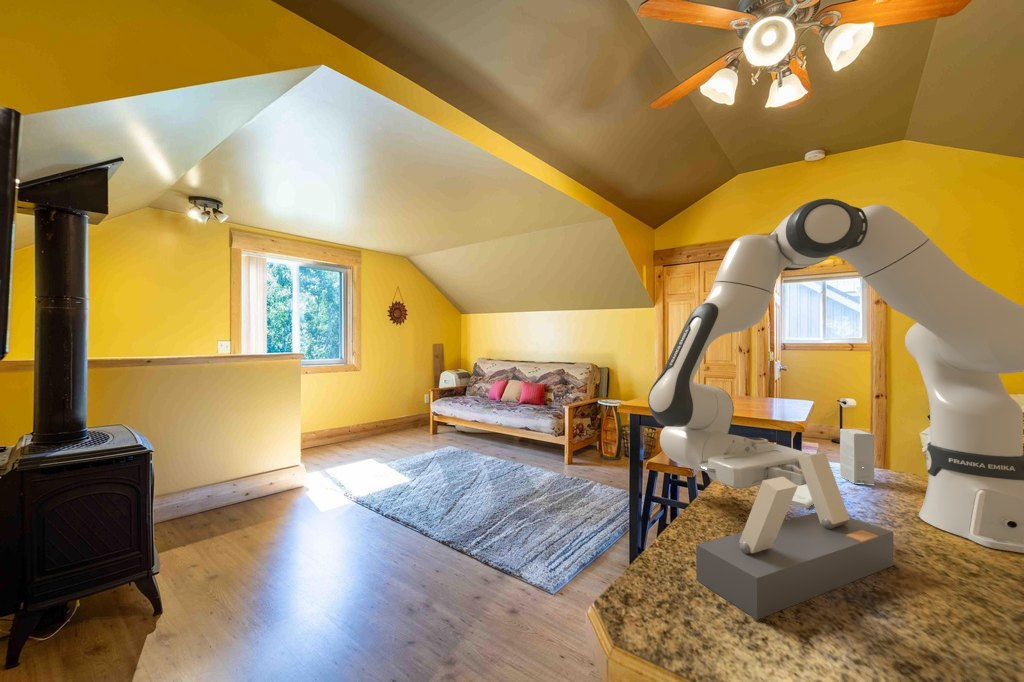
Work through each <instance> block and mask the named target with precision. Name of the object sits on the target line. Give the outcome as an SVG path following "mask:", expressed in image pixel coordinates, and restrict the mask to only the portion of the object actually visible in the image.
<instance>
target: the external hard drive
mask: <svg viewBox="0 0 1024 682" xmlns="http://www.w3.org/2000/svg"><path fill="white" fill-rule="evenodd" d="M797 486H798V485H797ZM813 504H814V503H813V500H812V498H811V495H810V492H809V489H808V486H807V485H806V484H805V485H801V486H798V487H797V489H796V492H795V494H794V497H793V499H792V501H791V504H790V506H794V507H797V508H802V509H804V508H805V509H804V510H808V509H809V508H811V507H812V506H814V505H813ZM811 505H812V506H811ZM810 506H811V507H810Z"/></svg>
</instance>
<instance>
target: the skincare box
mask: <svg viewBox="0 0 1024 682" xmlns="http://www.w3.org/2000/svg"><path fill="white" fill-rule="evenodd" d="M839 457H840V458H839V459H840V460H839V467H840V468H839V474H840V475H841V476H842V477H844V478H846V479H848V480H850V481H852V482H854V483H864V484H874V485H875V435H874V434H873V433H870V432H867V431H864V430H860V429H857V428H856V429H851V428H840V429H839ZM862 467H864V468H862ZM840 475H839V476H840ZM842 477H841V478H842Z"/></svg>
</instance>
